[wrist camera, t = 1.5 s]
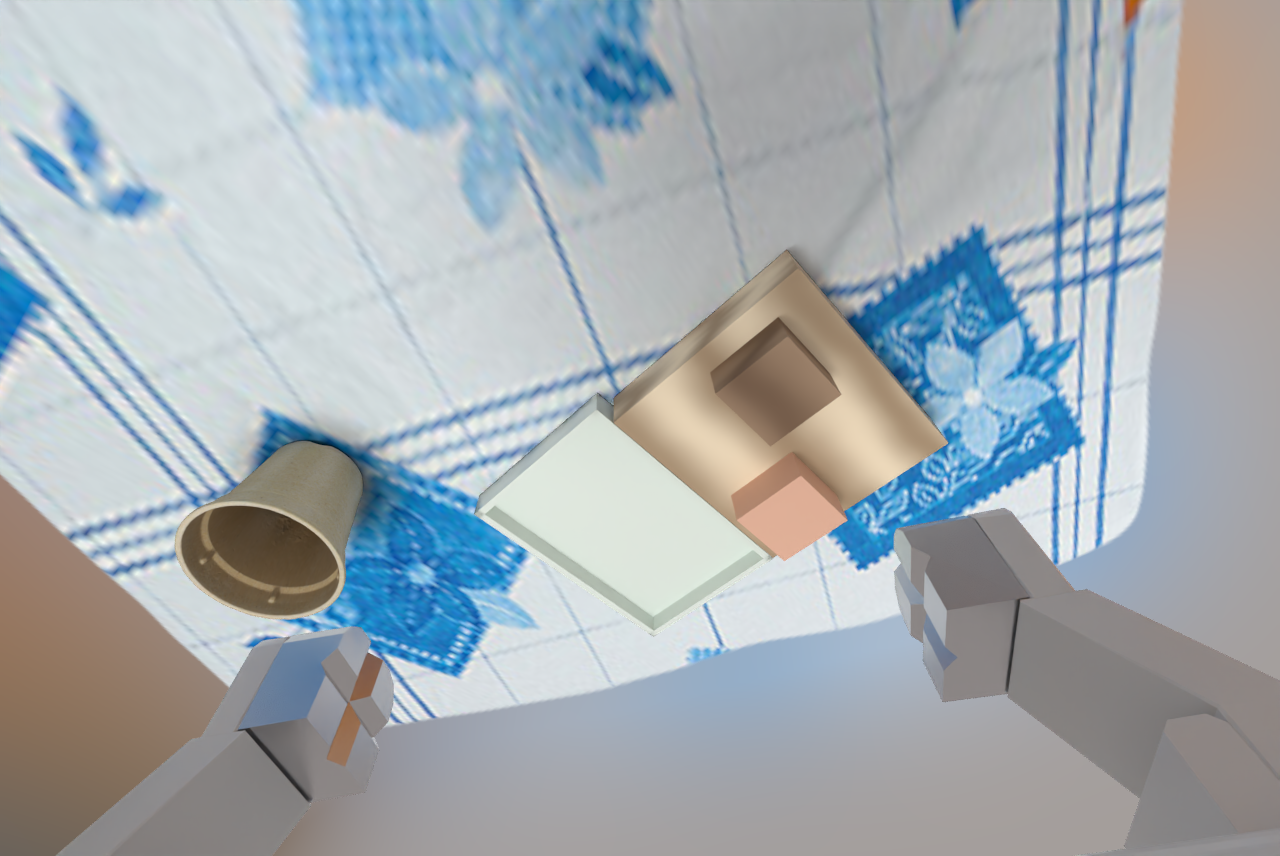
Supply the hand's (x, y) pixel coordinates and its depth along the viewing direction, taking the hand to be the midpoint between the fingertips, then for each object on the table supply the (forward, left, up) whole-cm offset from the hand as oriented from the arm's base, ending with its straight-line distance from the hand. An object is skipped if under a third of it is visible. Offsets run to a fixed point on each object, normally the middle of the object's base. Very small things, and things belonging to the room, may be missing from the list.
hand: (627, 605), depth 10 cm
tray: (+17, +18, -30) cm, 39 cm away
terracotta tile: (+6, +22, -27) cm, 36 cm away
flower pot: (+29, 0, -31) cm, 42 cm away
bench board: (+3, +18, -30) cm, 35 cm away
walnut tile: (+1, +14, -27) cm, 31 cm away
